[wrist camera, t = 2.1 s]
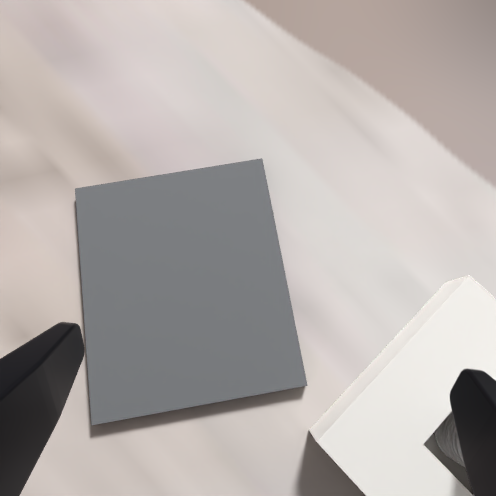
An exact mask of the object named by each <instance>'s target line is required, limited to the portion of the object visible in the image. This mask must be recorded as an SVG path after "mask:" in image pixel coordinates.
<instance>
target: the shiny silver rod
mask: <svg viewBox="0 0 496 496" xmlns="http://www.w3.org/2000/svg"><path fill="white" fill-rule="evenodd" d="M435 438H436V441H437V444H438V446H439V447H440V449H441V450H442V452H443V453H444V454H445V455H446V456H447V457H449V458H450V459H452V460H453V461H455V462H457V463H458V464H460V465H462V466H463V467H465V465H464V461H463V457H462V453H461V448H460V444H459V440H458V435H457V431H456V426H455V422H454V418H453V413H452V411H451V412H450V414H449V415H448V416H447V417H446V418H445V419H444V421H443V422H442V423H441V424H440V425H439V427H438V428H437V429H436V430H435Z"/></svg>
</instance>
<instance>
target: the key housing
mask: <svg viewBox="0 0 496 496" xmlns="http://www.w3.org/2000/svg"><path fill="white" fill-rule="evenodd" d="M466 368H468V369H476V370H482V371H484V372H486V373H487V374H488V375H490V376H491V377H492V378H493V379H494V380H496V298H495V297H494V296H492V295H491V294H490V293H489V292H488V291H487V290H486V289H485V288H484V287H482V286H481V285H480V284H479V283H478V282H477V281H476V280H475V279H473V278H472V277H471V276H470V275H467V276H464V277H460V278H457V279H453V280H450V281H447V282H445V283H444V284H443V285H442V287H441V288H440V289H439V290H438V291H437V292H436V293H435V294H434V295H433V296H432V297H431V298H430V300H429V301H428V302H427V303H426V304H425V305H424V306H423V307H422V308H421V309H420V310H419V311H418V313H417V314H416V315H415V316H414V317H413V318H412V319H411V320H410V321H409V322H408V323H407V324H406V325H405V327H404V328H403V329H402V330H401V331H400V332H399V333H398V334H397V335H396V336H395V337H394V338H393V340H392V341H391V342H390V343H389V344H388V345H387V346H386V347H385V348H384V349H383V350H382V351H381V352H380V354H379V355H378V356H377V357H376V358H375V359H374V360H373V361H372V362H371V363H370V364H369V365H368V367H367V368H366V369H365V370H364V371H363V372H362V373H361V374H360V375H359V376H358V377H357V378H356V380H355V381H354V382H353V383H352V384H351V385H350V386H349V387H348V388H347V389H346V390H345V391H344V392H343V394H342V395H341V396H340V397H339V398H338V399H337V400H336V401H335V402H334V403H333V404H332V405H331V407H330V408H329V409H328V410H327V411H326V412H325V413H324V414H323V415H322V416H321V417H320V418H319V419H318V421H317V422H316V423H315V424H314V425H313V426H312V427H311V428H310V429H309V431H310V433H311V434H312V436H313V437H314V439H315V440H316V442H317V443H318V444H319V445H320V446H321V447H322V448H323V449H324V450H325V452H326V453H327V454H328V455H329V456H330V457H331V458H332V459H333V460H334V461H335V462H336V464H337V465H338V466H339V467H340V468H341V469H342V470H343V471H344V472H345V473H346V474H347V476H348V477H349V478H350V479H351V480H352V481H353V482H354V483H355V484H356V485H357V486H358V488H359V489H360V490H361V491H362V492H363V493H364V494H365V495H366V496H474V494H473V495H472V494H471V493H470V492H469V491H468V490H467V489H466V488H465V486H464V485H463V484H462V483H461V482H460V481H459V480H458V479H457V478H456V477H455V476H454V475H453V474H452V473H451V472H450V471H449V470H448V469H447V468H446V467H445V466H444V465H443V464H442V463H441V462H440V461H439V460H438V459H437V458H436V457H435V456H434V455H433V454H432V453H431V452H430V451H429V450H428V449H427V448H426V447H425V446H424V445H423V444H424V443H425V442H426V441H427V439H428V438H429V437H430V436H431V435H432V434H433V432H434V431H435V430H436V429H437V428H438V427H439V425H440V424H441V423H442V422H443V421H444V419H445V418H446V417H447V416H448V415H449V414H450V412H451V411H452V409H451V404H450V391H451V389H452V387H453V385H454V383H455V382H456V380H457V378H458V376H459V374H460V372H461V371H462V370H463V369H466Z"/></svg>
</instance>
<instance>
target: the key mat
mask: <svg viewBox="0 0 496 496" xmlns="http://www.w3.org/2000/svg"><path fill="white" fill-rule="evenodd" d="M75 195H76V210H77V224H78V238H79V253H80V267H81V281H82V296H83V310H84V324H85V338H86V353H87V367H88V381H89V396H90V410H91V424H92V425H96V424H102V423H107V422H113V421H118V420H123V419H129V418H134V417H140V416H145V415H151V414H156V413H161V412H167V411H172V410H178V409H183V408H189V407H194V406H199V405H205V404H210V403H216V402H221V401H227V400H232V399H237V398H243V397H248V396H254V395H259V394H265V393H270V392H275V391H281V390H286V389H292V388H297V387H303V386H307V381H306V376H305V371H304V366H303V361H302V356H301V351H300V346H299V341H298V336H297V331H296V326H295V321H294V316H293V311H292V306H291V301H290V296H289V291H288V286H287V281H286V276H285V271H284V266H283V261H282V256H281V251H280V246H279V241H278V236H277V231H276V226H275V221H274V216H273V211H272V206H271V200H270V195H269V190H268V185H267V180H266V175H265V170H264V165H263V160H262V159H256V160H250V161H244V162H238V163H231V164H225V165H219V166H213V167H206V168H200V169H194V170H188V171H182V172H175V173H169V174H163V175H157V176H151V177H144V178H138V179H132V180H126V181H119V182H113V183H107V184H101V185H95V186H88V187H82V188H76V189H75Z"/></svg>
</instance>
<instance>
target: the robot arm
mask: <svg viewBox="0 0 496 496" xmlns="http://www.w3.org/2000/svg"><path fill="white" fill-rule="evenodd" d="M83 357H84V343H83V339H82V334H81V329H80V326H79V325H78V324H75V323H67V322H61V323H58V324H56V325H55V326H53V327H51V328H50V329H48V330H46V331H45V332H43V333H42V334H40V335H38V336H37V337H35V338H33V339H32V340H30V341H29V342H27V343H25V344H24V345H22V346H20V347H19V348H17V349H16V350H14V351H12V352H11V353H9V354H7V355H6V356H4V357H3V358H1V359H0V496H19V495H20V494H21V492H22V490H23V488H24V486H25V484H26V482H27V480H28V478H29V476H30V474H31V472H32V470H33V468H34V467H35V465H36V463H37V461H38V459H39V457H40V455H41V453H42V451H43V449H44V447H45V445H46V443H47V442H48V440H49V438H50V436H51V434H52V432H53V430H54V428H55V426H56V424H57V422H58V420H59V418H60V415H61V413H62V411H63V408H64V406H65V403H66V400H67V398H68V395H69V393H70V390H71V388H72V385H73V383H74V380H75V378H76V375H77V372H78V370H79V367H80V365H81V362H82V360H83ZM450 404H451V409H452V413H453V418H454V422H455V426H456V431H457V435H458V440H459V444H460V448H461V453H462V457H463V461H464V465H465V469H466V472H467V475H468V478H469V481H470V484H471V487H472V490H473V493H474V496H496V380H494V379H493V378H492V377H491V376H490V375H488V374H487V373H486V372H484V371H482V370H476V369H468V368H466V369H463V370H462V371H461V372H460V374H459V376H458V378H457V380H456V382H455V383H454V385H453V387H452V389H451V391H450Z"/></svg>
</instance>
